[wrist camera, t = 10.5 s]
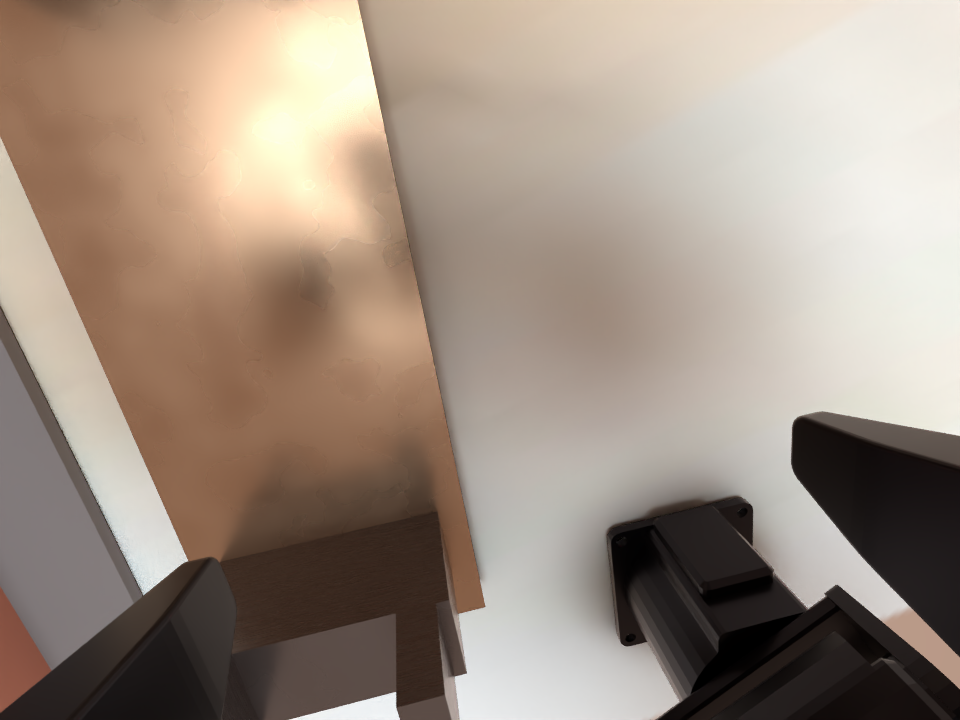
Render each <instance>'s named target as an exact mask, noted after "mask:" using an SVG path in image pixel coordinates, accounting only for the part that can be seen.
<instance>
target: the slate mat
mask: <svg viewBox="0 0 960 720" xmlns="http://www.w3.org/2000/svg"><path fill="white" fill-rule="evenodd" d="M0 587H1V588H2V590H3V592H4V593H5V595H6V597H7V598H8V600H9V601H10V603H11V605H12V606H13V608H14V610H15V611H16V613H17V615H18V616H19V618H20V620H21V621H22V623H23V625H24V626H25V628H26V629H27V631H28V633H29V634H30V636H31V638H32V639H33V641H34V643H35V644H36V646H37V648H38V649H39V651H40V653H41V654H42V656H43V657H44V659H45V661H46V662H47V664H48V666H49V667H50V669H51V671H52V670H53V669H54V668H56V667H57V666H58V665H59V664H60V663H62V662H63V661H64V660H65V659H67V658H68V657H69V656H70V655H71V654H73V653H74V652H75V651H76V650H78V649H79V648H80V647H81V646H82V645H84V644H85V643H86V642H87V641H89V640H90V639H91V638H92V637H93V636H95V635H96V634H97V633H98V632H100V631H101V630H102V629H103V628H104V627H106V626H107V625H108V624H109V623H111V622H112V621H113V620H114V619H116V618H117V617H118V616H119V615H120V614H122V613H123V612H124V611H125V610H127V609H128V608H129V607H130V606H131V605H133V604H134V603H135V602H136V601H138V600H139V599H140V598H141V597H142V594H141V591H140V589H139V587H138V585H137V583H136V581H135V579H134V577H133V575H132V573H131V571H130V569H129V567H128V565H127V563H126V561H125V559H124V557H123V555H122V553H121V551H120V549H119V547H118V545H117V543H116V541H115V539H114V537H113V535H112V533H111V531H110V529H109V527H108V525H107V523H106V521H105V519H104V517H103V515H102V513H101V511H100V508H99V506H98V504H97V502H96V500H95V498H94V496H93V494H92V492H91V490H90V488H89V486H88V484H87V482H86V480H85V478H84V476H83V474H82V472H81V470H80V468H79V466H78V464H77V462H76V460H75V458H74V456H73V454H72V452H71V450H70V448H69V446H68V444H67V442H66V440H65V438H64V436H63V434H62V432H61V430H60V428H59V425H58V423H57V421H56V419H55V417H54V415H53V413H52V411H51V409H50V407H49V405H48V403H47V401H46V399H45V397H44V395H43V393H42V391H41V389H40V387H39V385H38V383H37V381H36V379H35V377H34V375H33V373H32V371H31V369H30V367H29V365H28V363H27V361H26V359H25V357H24V355H23V353H22V351H21V349H20V347H19V345H18V342H17V340H16V338H15V336H14V334H13V332H12V330H11V328H10V326H9V324H8V322H7V320H6V318H5V316H4V314H3V312H2V310H1V308H0Z"/></svg>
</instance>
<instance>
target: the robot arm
mask: <svg viewBox="0 0 960 720" xmlns="http://www.w3.org/2000/svg"><path fill="white" fill-rule="evenodd" d="M791 465H792V469H793V472H794V474H795V476H796V477H797V479H798V480H799V481H800V482H801V484H802V485H803V486H804V487H805V489H806V490H807V491H808V492H809V494H810V495H811V496H812V497H813V498H814V500H815V501H816V502H817V503H818V505H819V506H820V507H821V508H822V509H823V511H824V512H825V513H826V514H827V516H828V517H829V518H830V519H831V521H832V522H833V523H834V524H835V525H836V527H837V528H838V529H839V530H840V532H841V533H842V534H843V535H844V536H845V538H846V539H847V540H848V541H849V543H850V544H851V545H852V546H853V547H854V548H855V550H856V551H857V552H858V553H859V554H860V555H861V556H862V558H863V559H864V560H865V561H866V562H867V563H868V564H869V565H870V566H871V567H872V568H873V569H874V570H875V571H876V572H877V573H878V574H879V575H880V576H881V577H882V578H883V579H884V580H885V582H886V583H887V584H888V585H889V586H890V587H891V588H892V589H893V590H894V591H895V592H896V593H897V594H898V595H899V596H900V597H901V598H902V599H903V600H904V601H905V602H906V603H907V604H908V605H909V606H910V607H911V608H912V609H913V610H914V611H915V612H916V613H917V614H918V615H919V616H920V617H921V618H922V619H923V620H924V621H925V622H926V623H927V624H928V625H929V626H930V627H931V628H932V629H933V630H934V631H935V632H936V633H937V634H938V636H939V637H940V638H941V639H943V641H944V642H945V643H946V644H947V645H948V646H949V647H950V648H951V649H952V650H953V651H954V652H955V653H956V654H957V655H958V656H959V657H960V436H957V435H951V434H946V433H940V432H935V431H929V430H923V429H918V428H912V427H907V426H901V425H896V424H890V423H884V422H879V421H873V420H868V419H862V418H857V417H851V416H846V415H840V414H834V413H829V412H815V413H811V414H807V415H803V416H799V417H797V418H796V419H795V420H794V422H793V425H792V448H791ZM740 508H742V509H741V510H740V511H738V510H739V509H740ZM737 511H738V512H737ZM621 537H623V538H622V540H620V541H617V540H618V539H619V538H621ZM607 542H608V552H609V562H610V571H611V581H612V591H613V601H614V610H615V620H616V630H617V635H618V638H619V640H620V642H621V644H623V645H624V646H633V645H637V644H641V643H644V642H648V644H649V646H650V647H651V649H652V651H653V653H654V655H655V657H656V659H657V660H658V662H659V664H660V666H661V668H662V670H663V672H664V673H665V675H666V677H667V679H668V681H669V683H670V685H671V686H672V688H673V690H674V692H675V694H676V696H677V698H678V699H679V701H680V702H679V703H678V704H677V705H675V706H674V707H672V708H671V709H670V710H668V711H667V712H666V713H664V714H663V715H661V716H660V717H659V718H657V719H656V720H960V689H959V688H958V687H957V686H956V685H955V684H954V683H953V682H951V681H950V680H949V679H948V678H947V677H946V676H945V675H944V674H943V673H941V671H939V670H938V669H937V668H936V667H935V666H934V665H933V664H932V663H930V662H929V661H928V660H927V659H926V658H925V657H924V656H922V655H921V654H920V653H919V652H917V651H916V650H915V649H914V648H913V647H911V646H910V645H909V644H908V643H907V642H906V641H904V640H903V639H902V638H901V637H899V636H898V635H897V634H896V633H895V632H893V631H892V630H891V629H890V628H889V627H888V626H886V625H885V624H884V623H883V622H882V621H880V620H879V619H878V618H877V617H876V616H874V615H873V614H872V613H871V612H870V611H868V610H867V609H866V608H865V607H864V606H862V605H861V604H860V603H859V602H858V601H856V600H855V599H854V598H853V597H852V596H850V595H849V594H848V593H847V592H845V591H844V590H843V589H842V588H841V587H839V586H838V585H835V586H834V587H833V588H831V589H830V590H829V591H827V592H826V593H824V594H825V596H826V597H824V598H823V599H821V600H820V601H819V602H817V603H816V604H815V605H813V606H812V607H810V608H809V609H808V608H807V607H806V606H805V605H804V604H803V603H802V602H801V601H800V600H799V599H798V598H797V597H796V596H795V594H794V593H793V592H792V591H791V590H790V589H789V588H788V587H787V586H786V585H785V584H784V583H783V582H782V581H781V580H780V579H779V578H778V576H777V575H776V574H775V573H774V570H773V568H772V567H771V566H770V564H769V563H768V562H767V561H766V560H765V559H764V558H763V557H762V556H761V555H760V554H759V553H758V552H757V551H756V550H755V549H754V548H753V547H752V543H753V508H752V506H751V505H750V504H749V503H748V502H747V501H746V500H745V499H743V498H734V499H730V500H726V501H722V502H718V503H713V504H709V505H705V506H701V507H697V508H693V509H689V510H685V511H680V512H676V513H672V514H668V515H664V516H660V517H656V518H652V519H647V520H643V521H639V522H635V523H631V524H627V525H623V526H619V527H616V528H613V529H612V530H611V531H610V532H609V534H608V536H607ZM236 619H237V604H236V600H235V597H234V595H233V592H232V590H231V588H230V585H229V583H228V581H227V578H226V576H225V574H224V571H223V569H222V567H221V564H220V563H219V561H218V560H217V559H216V558H214V557H211V556H210V557H205V558H201V559H196V560H192V561H188V562H185V563H183V564H182V565H180V566H179V567H178V568H177V569H175V570H174V571H173V572H172V573H171V574H169V575H168V576H167V577H166V578H164V579H163V580H162V581H161V582H160V583H158V584H157V585H156V586H155V587H153V588H152V589H151V590H150V591H149V592H147V593H146V594H145V595H144V596H142V597H141V598H140V599H139V600H138V601H136V602H135V603H134V604H133V605H131V606H130V607H129V608H128V609H127V610H125V611H124V612H123V613H122V614H120V615H119V616H118V617H117V618H116V619H114V620H113V621H112V622H111V623H109V624H108V625H107V626H106V627H104V628H103V629H102V630H101V631H100V632H98V633H97V634H96V635H95V636H93V637H92V638H91V639H90V640H89V641H87V642H86V643H85V644H84V645H82V646H81V647H80V648H79V649H78V650H76V651H75V652H74V653H73V654H71V655H70V656H69V657H68V658H67V659H65V660H64V661H63V662H62V663H60V664H59V665H58V666H57V667H56V668H54V669H53V670H52V671H51V672H49V673H48V674H47V675H46V676H45V677H43V678H42V679H41V680H40V681H38V682H37V683H36V684H35V685H34V686H32V687H31V688H30V689H29V690H27V691H26V692H25V693H24V694H23V695H21V696H20V697H19V698H18V699H16V700H15V701H14V702H13V703H12V704H10V705H9V706H8V707H7V708H5V709H4V710H3V711H2V712H1V713H0V720H221V719H222V714H223V708H224V702H225V695H226V688H227V681H228V674H229V667H230V661H231V654H232V647H233V640H234V633H235V626H236Z"/></svg>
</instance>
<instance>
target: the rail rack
mask: <svg viewBox="0 0 960 720" xmlns="http://www.w3.org/2000/svg"><path fill="white" fill-rule="evenodd" d="M0 137H1V139H2V141H3V143H4V146H5V148H6V150H7V152H8V155H9V157H10V159H11V161H12V164H13V166H14V168H15V170H16V173H17V175H18V177H19V179H20V182H21V184H22V186H23V188H24V191H25V193H26V195H27V197H28V200H29V202H30V204H31V207H32V209H33V211H34V213H35V216H36V218H37V220H38V222H39V225H40V227H41V229H42V231H43V234H44V236H45V238H46V240H47V243H48V245H49V247H50V249H51V252H52V254H53V256H54V258H55V261H56V263H57V265H58V267H59V270H60V272H61V274H62V276H63V279H64V281H65V283H66V286H67V288H68V290H69V292H70V295H71V297H72V299H73V301H74V304H75V306H76V308H77V310H78V313H79V315H80V317H81V319H82V322H83V324H84V326H85V328H86V331H87V333H88V335H89V337H90V340H91V342H92V344H93V346H94V349H95V351H96V353H97V356H98V358H99V360H100V362H101V365H102V367H103V369H104V371H105V374H106V376H107V378H108V380H109V383H110V385H111V387H112V389H113V392H114V394H115V396H116V398H117V401H118V403H119V405H120V407H121V410H122V412H123V414H124V416H125V419H126V421H127V423H128V425H129V428H130V430H131V432H132V435H133V437H134V439H135V441H136V444H137V446H138V448H139V450H140V453H141V455H142V457H143V459H144V462H145V464H146V466H147V468H148V471H149V473H150V475H151V477H152V480H153V482H154V484H155V486H156V489H157V491H158V493H159V495H160V498H161V500H162V502H163V505H164V507H165V509H166V511H167V514H168V516H169V518H170V520H171V523H172V525H173V527H174V529H175V532H176V534H177V536H178V538H179V541H180V543H181V545H182V547H183V550H184V552H185V554H186V556H187V559H188V561H192V560H196V559H201V558H205V557H210V556H211V557H214V558H216V559H217V560H218V561H219V563H220V564H221V567H222V569H223V571H224V574H225V576H226V578H227V581H228V583H229V585H230V588H231V590H232V592H233V595H234V597H235V600H236V604H237V619H236V626H235V633H234V640H233V647H232V654H231V661H230V667H229V674H228V681H227V688H226V695H225V702H224V708H223V714H222V719H221V720H289V719H293V718H297V717H300V716H304V715H308V714H312V713H316V712H320V711H324V710H327V709H331V708H335V707H339V706H343V705H347V704H351V703H354V702H358V701H362V700H366V699H370V698H374V697H377V696H381V695H385V694H389V693H393V692H396V708H397V711H398V714H399V717H400V720H460V719H459V711H458V702H457V694H456V686H455V677H454V676H458V675H462V674H466V673H467V671H466V664H465V657H464V651H463V644H462V637H461V630H460V623H459V616H458V614H459V613H463V612H467V611H471V610H475V609H479V608H483V607H485V603H484V598H483V593H482V589H481V584H480V579H479V574H478V570H477V565H476V560H475V555H474V551H473V546H472V541H471V536H470V532H469V527H468V522H467V518H466V513H465V508H464V503H463V499H462V494H461V489H460V484H459V480H458V475H457V470H456V465H455V461H454V456H453V451H452V446H451V442H450V437H449V432H448V427H447V423H446V418H445V413H444V408H443V404H442V399H441V394H440V389H439V385H438V380H437V375H436V370H435V366H434V361H433V356H432V352H431V347H430V342H429V337H428V333H427V328H426V323H425V318H424V314H423V309H422V304H421V299H420V295H419V290H418V285H417V280H416V276H415V271H414V266H413V261H412V257H411V252H410V247H409V242H408V238H407V233H406V228H405V223H404V219H403V214H402V209H401V204H400V200H399V195H398V190H397V185H396V181H395V176H394V171H393V167H392V162H391V157H390V152H389V148H388V143H387V138H386V133H385V129H384V124H383V119H382V114H381V110H380V105H379V100H378V95H377V91H376V86H375V81H374V76H373V72H372V67H371V62H370V57H369V53H368V48H367V43H366V38H365V34H364V29H363V24H362V19H361V15H360V10H359V5H358V1H357V0H0Z"/></svg>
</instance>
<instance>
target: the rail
mask: <svg viewBox="0 0 960 720" xmlns="http://www.w3.org/2000/svg"><path fill="white" fill-rule="evenodd" d="M49 672H51V669H50V667H49V666H48V664H47V662H46V661H45V659H44V657H43V656H42V654H41V653H40V651H39V649H38V648H37V646H36V644H35V643H34V641H33V639H32V638H31V636H30V634H29V633H28V631H27V629H26V628H25V626H24V625H23V623H22V621H21V620H20V618H19V616H18V615H17V613H16V611H15V610H14V608H13V606H12V605H11V603H10V601H9V600H8V598H7V597H6V595H5V593H4V592H3V590H2V588H1V587H0V713H1V712H2V711H3V710H4V709H5V708H7V707H8V706H9V705H10V704H12V703H13V702H14V701H15V700H16V699H18V698H19V697H20V696H21V695H23V694H24V693H25V692H26V691H27V690H29V689H30V688H31V687H32V686H34V685H35V684H36V683H37V682H38V681H40V680H41V679H42V678H43V677H45V676H46V675H47V674H48V673H49Z"/></svg>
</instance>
